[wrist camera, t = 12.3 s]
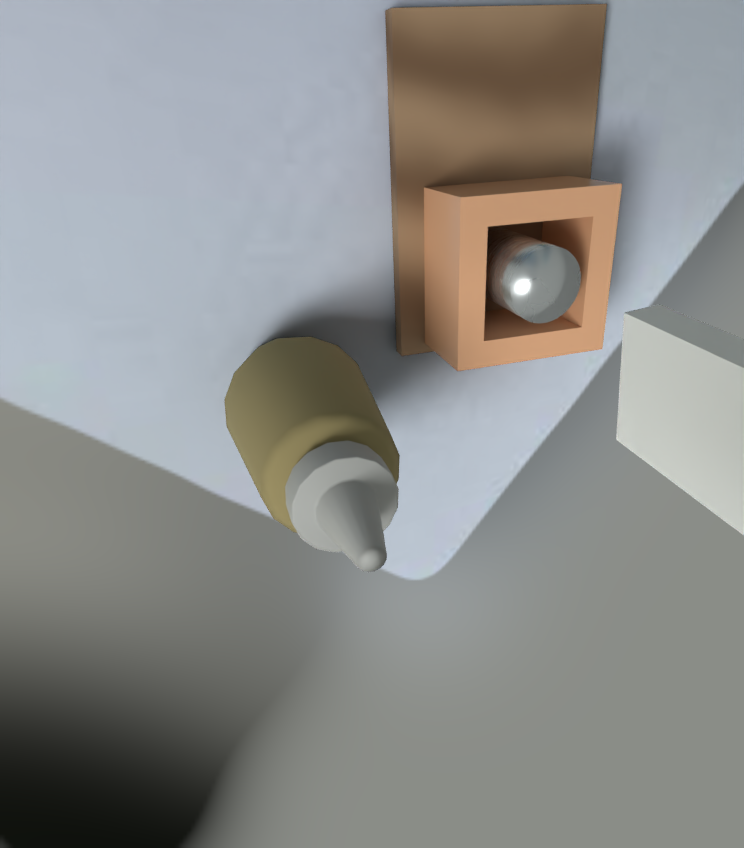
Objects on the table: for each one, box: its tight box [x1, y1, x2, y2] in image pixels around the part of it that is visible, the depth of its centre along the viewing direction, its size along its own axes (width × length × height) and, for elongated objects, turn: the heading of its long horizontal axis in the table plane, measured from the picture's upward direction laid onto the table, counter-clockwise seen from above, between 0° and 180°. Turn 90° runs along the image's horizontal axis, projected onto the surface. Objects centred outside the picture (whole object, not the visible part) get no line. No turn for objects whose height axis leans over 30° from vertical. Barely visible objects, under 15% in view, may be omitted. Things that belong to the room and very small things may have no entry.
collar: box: [424, 176, 622, 371], centre depth 37 cm, size 9×9×5 cm
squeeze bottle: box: [225, 337, 399, 572], centre depth 32 cm, size 8×8×18 cm
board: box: [385, 4, 607, 356], centre depth 38 cm, size 18×12×1 cm, turn 3°
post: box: [485, 228, 581, 323], centre depth 36 cm, size 4×4×6 cm
